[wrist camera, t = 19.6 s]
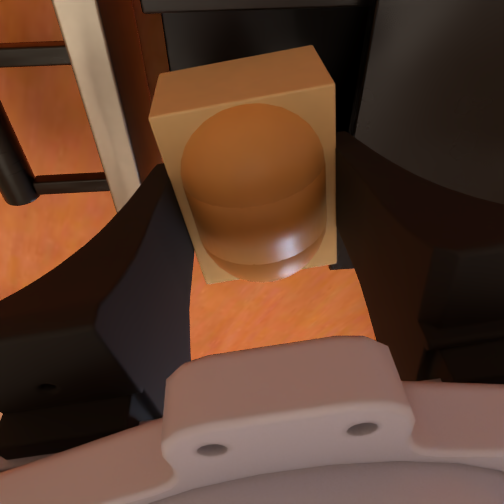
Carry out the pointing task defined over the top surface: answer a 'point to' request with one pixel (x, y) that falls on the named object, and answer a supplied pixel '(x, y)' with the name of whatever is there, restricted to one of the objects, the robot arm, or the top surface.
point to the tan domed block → (252, 162)
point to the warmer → (434, 94)
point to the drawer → (179, 57)
